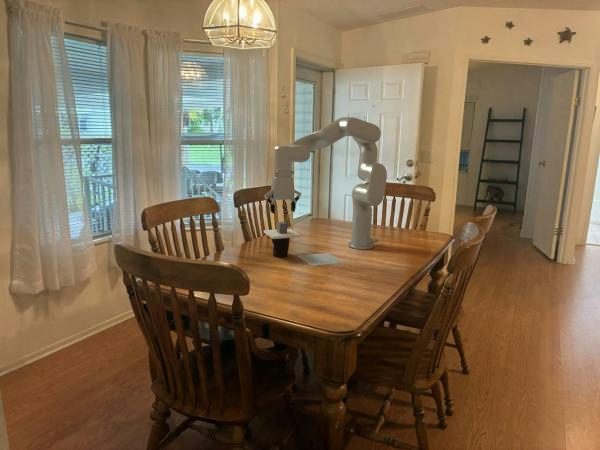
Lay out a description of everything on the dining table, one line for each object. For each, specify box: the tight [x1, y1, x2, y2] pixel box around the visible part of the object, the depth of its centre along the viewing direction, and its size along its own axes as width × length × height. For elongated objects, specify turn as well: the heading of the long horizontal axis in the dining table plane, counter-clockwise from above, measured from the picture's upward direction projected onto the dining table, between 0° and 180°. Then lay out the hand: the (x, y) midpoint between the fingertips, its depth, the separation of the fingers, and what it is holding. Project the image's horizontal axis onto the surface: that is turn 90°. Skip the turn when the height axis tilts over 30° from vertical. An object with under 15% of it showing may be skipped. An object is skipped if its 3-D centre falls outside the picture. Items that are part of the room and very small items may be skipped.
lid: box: [263, 221, 302, 240], centre depth 202 cm, size 13×13×6 cm
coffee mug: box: [271, 238, 291, 259], centre depth 203 cm, size 12×9×10 cm
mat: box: [297, 252, 345, 267], centre depth 199 cm, size 16×16×1 cm
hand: (282, 212), depth 200 cm, fingers open, 9 cm apart
